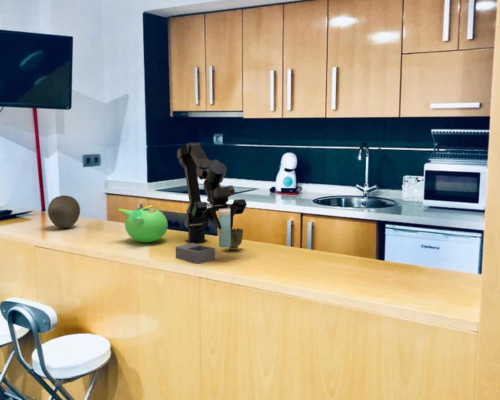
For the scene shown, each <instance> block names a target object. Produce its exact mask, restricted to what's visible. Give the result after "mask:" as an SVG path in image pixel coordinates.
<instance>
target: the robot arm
mask: <svg viewBox="0 0 500 400" xmlns="http://www.w3.org/2000/svg"><path fill="white" fill-rule="evenodd" d="M176 155H177V159H178V161H179V165H180V166H181V167H182V168H183V169H184V174H185V181H186V187H187V195H188V201H189V204H188V206H187V208H186V214H185V217H184V220H183V223H184V227H185V228H187V229H188V231H187V233H188V235H187V236H188V237H187V238H188V239H185V242H187V243H195V244H200V243H201V244H202V243H204V242H208V239H206V238H205V237H206V234H205V233H206V232H205V227H209V222H210V223H212V224H213V226H215V227H216V228H217V229H218V230H219V229H221V225H220V222H219V216H218V215H217V212H219V209H220V208H230V225H231V228H232V229H233V228H234V216H235V215H240V214H241V215H242V214H243V213H244V211H245V209H246V208H247V205H248V204H247V201H246V200H245V199H244V198H241V199H234V200H233V202H232V203H228V202H229V200H230V199H229V198H230V197H231V196H234V195H235V192H236V190H235V187H234V185H231V184H230V185H227V186H221V183H223V181H224V178H225V175H226V172H227V171H228V170H227V166H226V165H225V164H224V163H223V162H220V161H219V159H212V160H211V159H209V158H208V157H207V155H206V154H205V152H204V150H203V149H202V146H201V143H200V142H188V143H186V144H185V145H183V146H180V147H179V148H178V149H177V152H176ZM199 179H200V180H204V182H203V190H204V191H205V194H206V197H207V199H206V201H207V202H206V201H202V200H201V192H200V186H199ZM207 203H209V204H207Z"/></svg>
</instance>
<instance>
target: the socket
mask: <svg viewBox="0 0 500 400" xmlns="http://www.w3.org/2000/svg"><path fill="white" fill-rule="evenodd" d="M175 258H176V259H179V260H182V261H187V262H190V263H194V264H196V265H197V264H203V263H205V262H206V263H207V262H209V261H215V260H216V248H215V247H211V246H206V245H204V244H203V245H202V244H200V243H196V244H195V243H191V242H189V243H187V244H186V243H185V244H183V245H182V244H181V245H179V246H175Z"/></svg>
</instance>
